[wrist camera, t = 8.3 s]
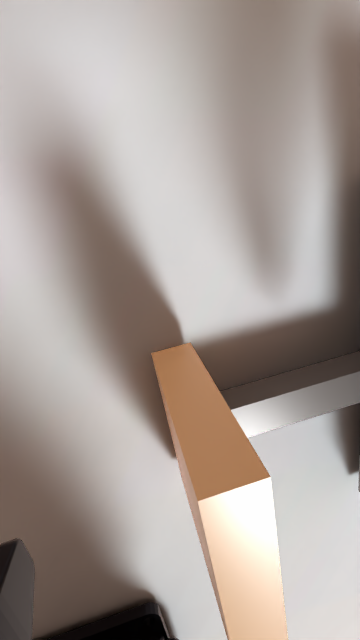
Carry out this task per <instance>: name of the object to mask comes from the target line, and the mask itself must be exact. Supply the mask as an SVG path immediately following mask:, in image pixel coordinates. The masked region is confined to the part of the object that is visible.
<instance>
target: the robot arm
mask: <svg viewBox="0 0 360 640" xmlns="http://www.w3.org/2000/svg"><path fill="white" fill-rule="evenodd" d="M34 577H35V568H34V563H33V560H32V558H31V556H30V554H29V552H28V551H27V549H26V547H25V545H24V543H23V542H22V540H20V539H14V540H11V541H8V542H5V543H2V544H1V545H0V640H32V624H33V600H34ZM48 640H178V639H177V638H176V637H175V636H173V637H170V636H169V633H168V630H167V627H166V625H165V622H164V619H163V616H162V613H161V610H160V608H159V606H158V604H156V603H146V604H143V605H140V606H138V607H135V608H132V609H129V610H127V611H124V612H121V613H119V614H116V615H113V616H110V617H108V618H105V619H102V620H99V621H97V622H94V623H91V624H89V625H86V626H83V627H80V628H78V629H75V630H72V631H69V632H67V633H64V634H61V635H59V636H56V637H53V638H50V639H48Z"/></svg>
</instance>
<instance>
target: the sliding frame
mask: <svg viewBox="0 0 360 640" xmlns="http://www.w3.org/2000/svg"><path fill="white" fill-rule="evenodd" d="M151 355H152V359H153V363H154V367H155V371H156V375H157V379H158V383H159V387H160V391H161V395H162V399H163V403H164V407H165V412H166V416H167V420H168V424H169V428H170V432H171V436H172V440H173V444H174V448H175V452H176V456H177V460H178V464H179V469H180V473H181V477H182V480H183V484H184V487H185V491H186V494H187V498H188V501H189V505H190V508H191V512H192V516H193V519H194V523H195V526H196V530H197V533H198V537H199V540H200V544H201V547H202V551H203V554H204V558H205V561H206V565H207V568H208V572H209V575H210V579H211V582H212V586H213V589H214V593H215V596H216V600H217V603H218V607H219V611H220V614H221V618H222V621H223V625H224V628H225V632H226V635H227V639H228V640H288V634H287V625H286V615H285V606H284V597H283V587H282V578H281V569H280V559H279V550H278V541H277V531H276V522H275V513H274V503H273V494H272V485H271V477H270V475H269V473H268V472H267V470H266V468H265V467H264V465H263V463H262V462H261V460H260V458H259V457H258V455H257V453H256V452H255V450H254V448H253V447H252V445H251V443H250V442H249V440H248V438H249V437H252V436H255V435H258V434H262V433H265V432H268V431H271V430H274V429H278V428H281V427H284V426H287V425H290V424H294V423H297V422H300V421H303V420H306V419H309V418H313V417H316V416H319V415H322V414H325V413H329V412H332V411H335V410H338V409H341V408H345V407H348V406H351V405H354V404H357V403H360V351H357V352H354V353H350V354H347V355H343V356H340V357H337V358H333V359H330V360H326V361H323V362H319V363H316V364H313V365H309V366H306V367H302V368H299V369H295V370H292V371H288V372H285V373H282V374H278V375H275V376H271V377H268V378H264V379H261V380H258V381H254V382H251V383H247V384H244V385H240V386H237V387H233V388H230V389H227V390H223V391H219V390H218V388H217V386H216V385H215V383H214V381H213V380H212V378H211V376H210V374H209V373H208V371H207V369H206V368H205V366H204V364H203V363H202V361H201V359H200V358H199V356H198V354H197V353H196V351H195V349H194V348H193V346H192V344H191V343H187V344H183V345H179V346H176V347H172V348H168V349H164V350H161V351H157V352H153V353H151ZM359 492H360V457H359Z"/></svg>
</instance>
